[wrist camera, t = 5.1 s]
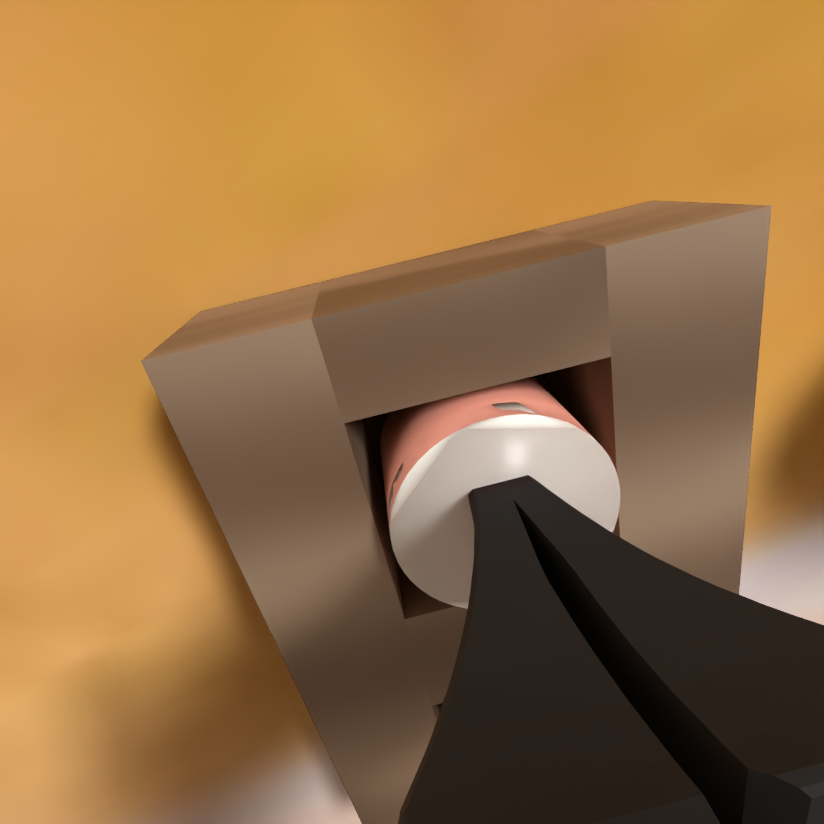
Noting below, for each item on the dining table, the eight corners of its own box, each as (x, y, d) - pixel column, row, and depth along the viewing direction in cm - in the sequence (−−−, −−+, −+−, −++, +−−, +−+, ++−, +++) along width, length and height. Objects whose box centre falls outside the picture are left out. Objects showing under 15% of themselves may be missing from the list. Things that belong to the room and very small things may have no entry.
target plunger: (566, 496, 15) (624, 579, 12) (402, 537, 15) (418, 632, 12) (549, 337, 13) (615, 387, 10) (359, 384, 13) (362, 450, 10)
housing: (658, 681, 21) (722, 785, 17) (379, 753, 21) (386, 873, 17) (652, 200, 13) (770, 205, 9) (199, 311, 13) (141, 361, 9)
